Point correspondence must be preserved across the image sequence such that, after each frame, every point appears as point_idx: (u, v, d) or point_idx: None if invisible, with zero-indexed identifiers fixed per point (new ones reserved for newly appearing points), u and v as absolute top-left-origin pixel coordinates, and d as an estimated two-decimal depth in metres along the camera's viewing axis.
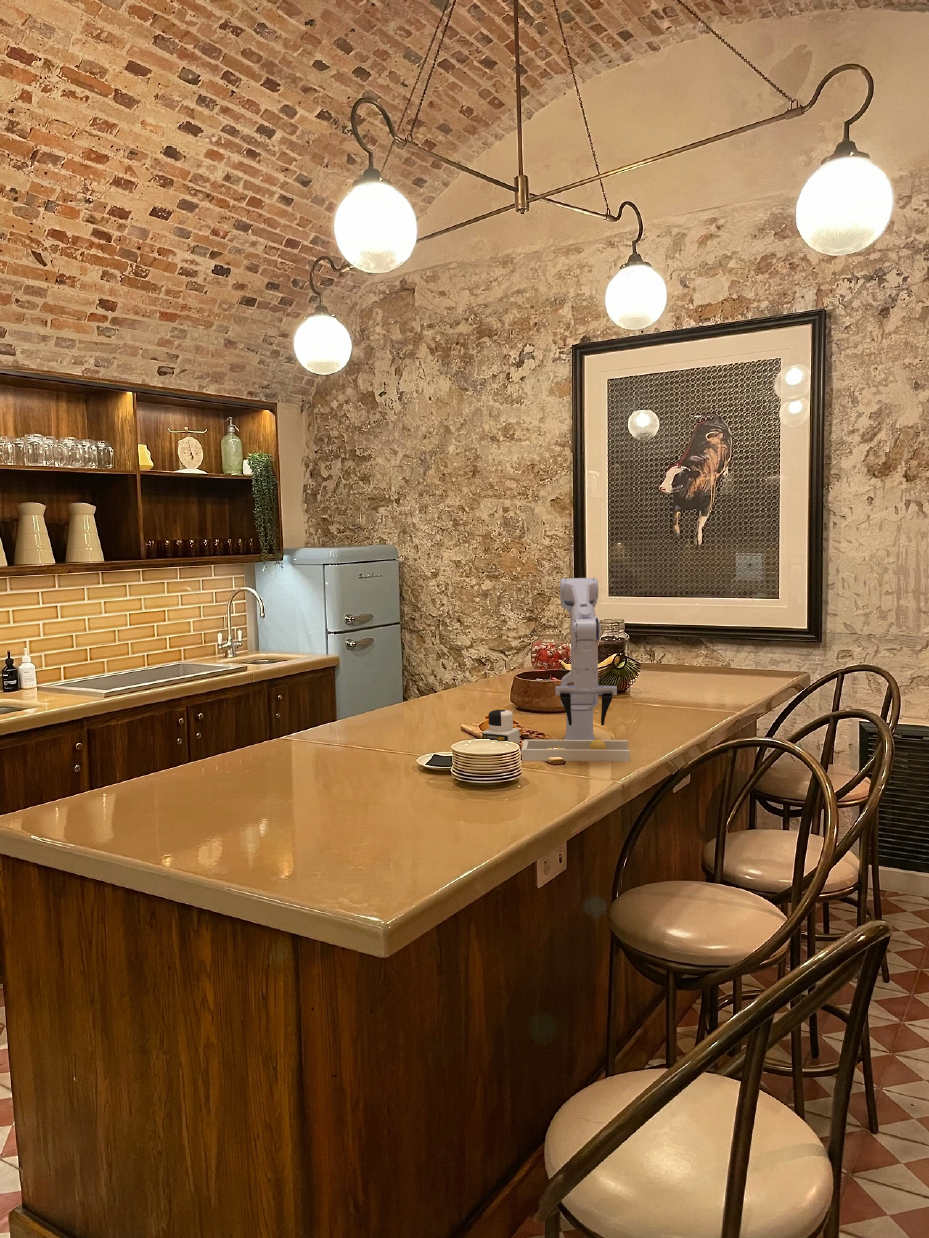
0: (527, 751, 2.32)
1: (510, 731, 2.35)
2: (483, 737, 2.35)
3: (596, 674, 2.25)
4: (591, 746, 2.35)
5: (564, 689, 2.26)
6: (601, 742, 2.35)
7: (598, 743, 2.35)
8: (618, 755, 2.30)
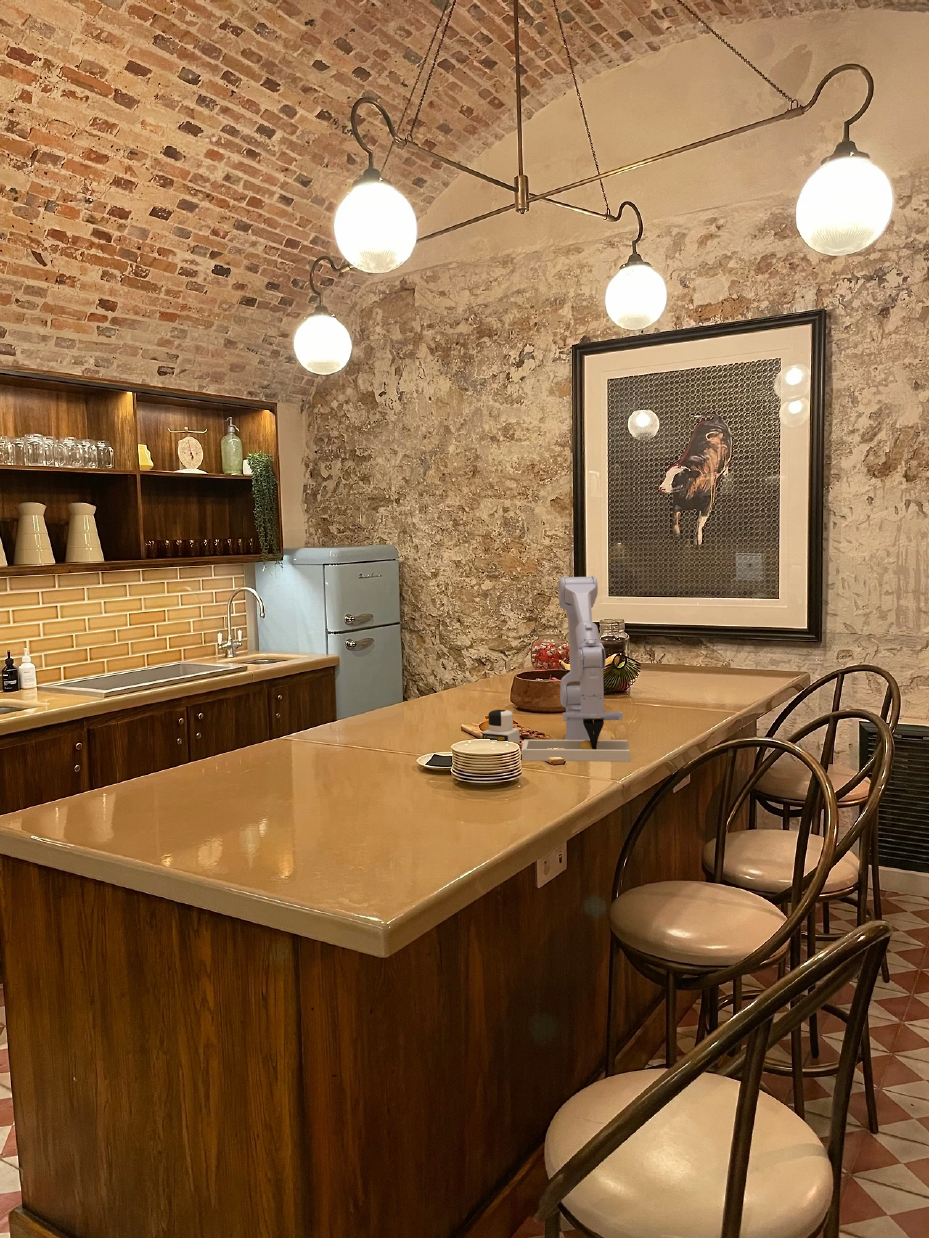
0: (527, 751, 2.32)
1: (510, 731, 2.35)
2: (483, 737, 2.35)
3: (602, 700, 2.33)
4: None
5: (571, 715, 2.34)
6: (583, 745, 2.35)
7: None
8: (618, 755, 2.30)
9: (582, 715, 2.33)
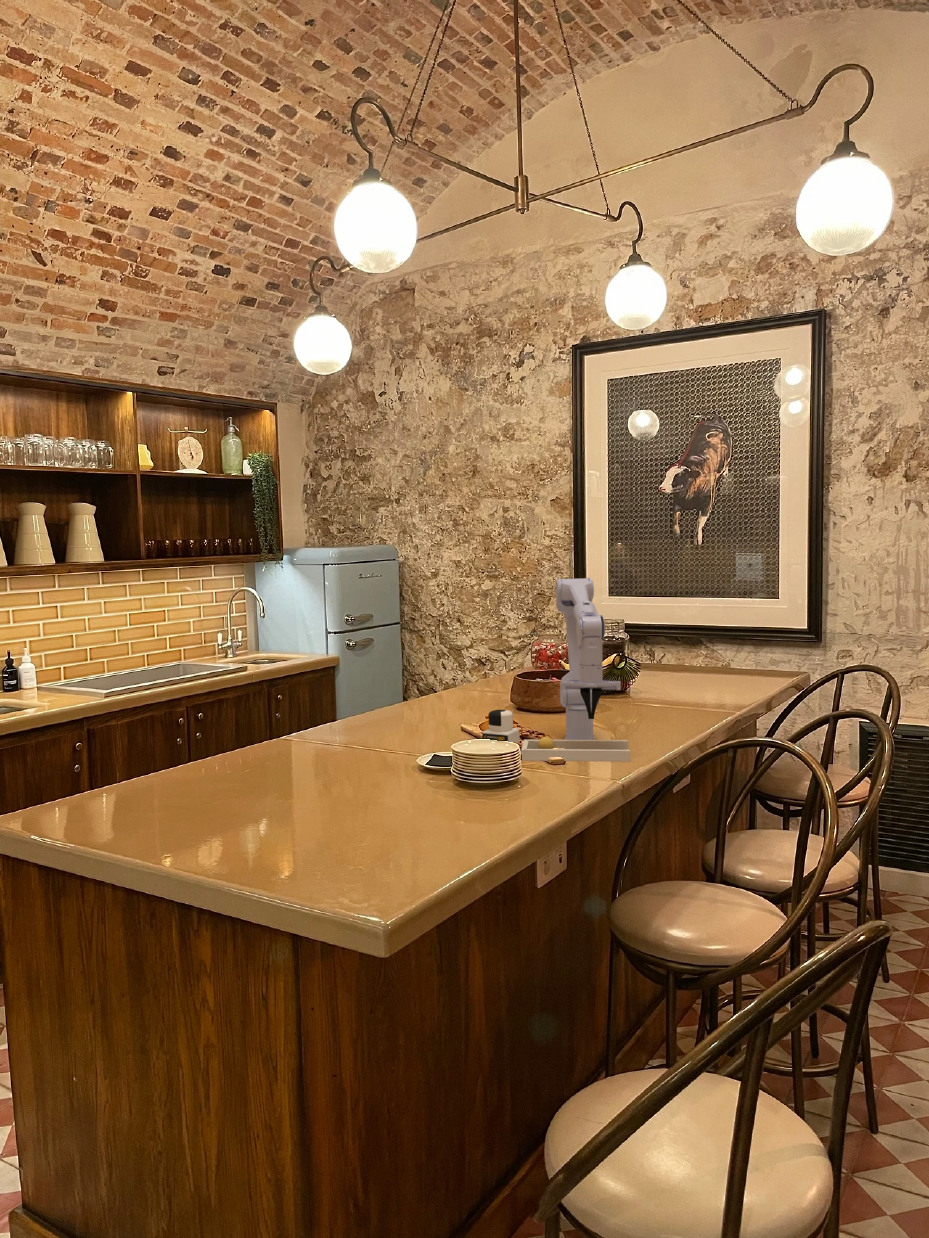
0: (527, 751, 2.32)
1: (510, 731, 2.35)
2: (483, 737, 2.35)
3: (601, 670, 2.34)
4: None
5: (570, 684, 2.35)
6: (540, 742, 2.39)
7: (538, 745, 2.40)
8: (618, 755, 2.30)
9: (580, 684, 2.34)
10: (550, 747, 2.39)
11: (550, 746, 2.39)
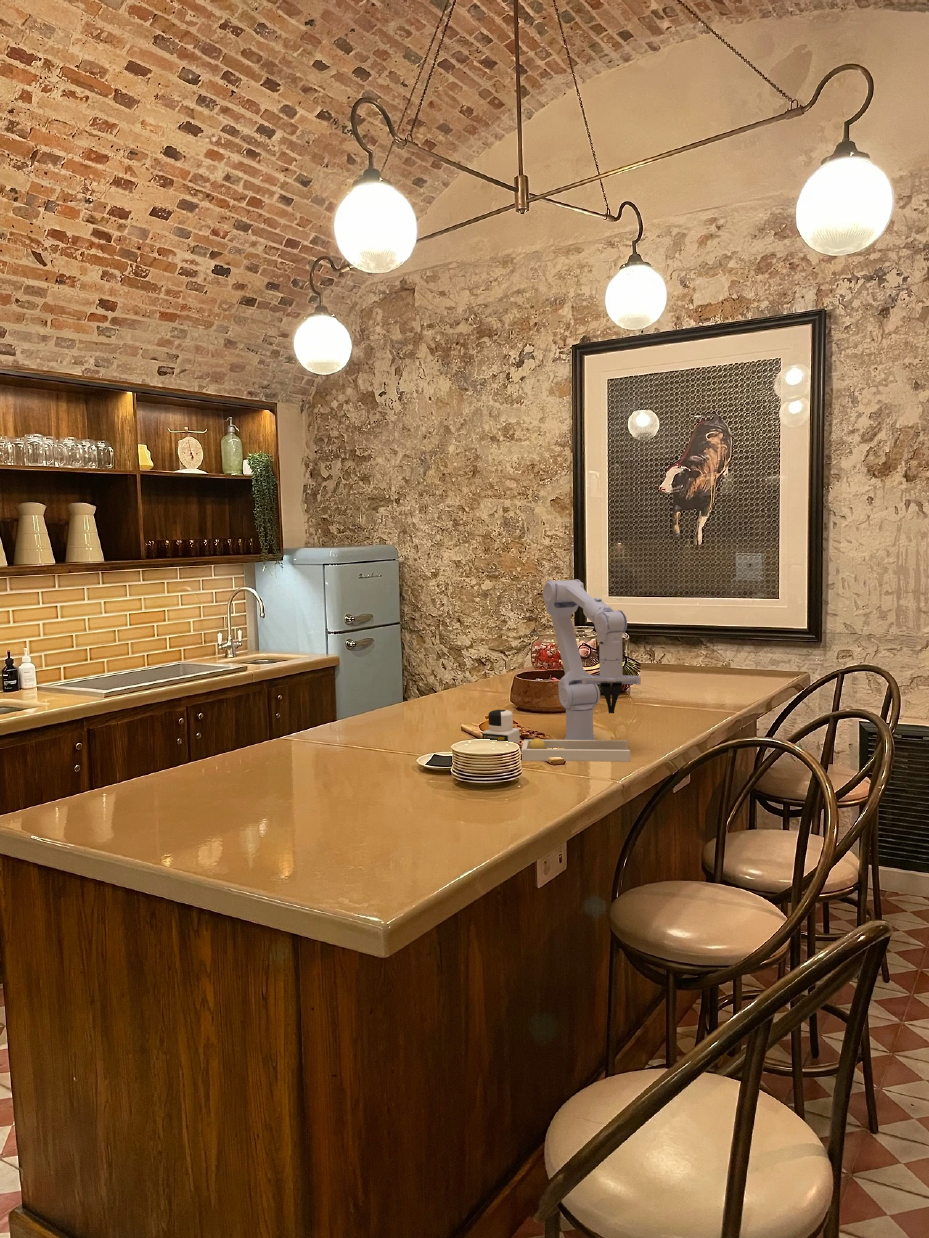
0: (527, 751, 2.32)
1: (510, 731, 2.35)
2: (483, 737, 2.35)
3: (621, 664, 2.37)
4: None
5: (590, 679, 2.38)
6: None
7: None
8: (618, 755, 2.30)
9: (601, 679, 2.36)
10: (543, 748, 2.37)
11: (542, 748, 2.37)
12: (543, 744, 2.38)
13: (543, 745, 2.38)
